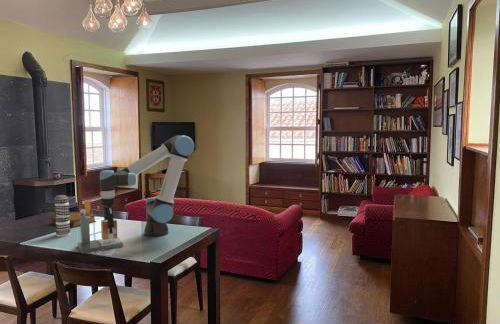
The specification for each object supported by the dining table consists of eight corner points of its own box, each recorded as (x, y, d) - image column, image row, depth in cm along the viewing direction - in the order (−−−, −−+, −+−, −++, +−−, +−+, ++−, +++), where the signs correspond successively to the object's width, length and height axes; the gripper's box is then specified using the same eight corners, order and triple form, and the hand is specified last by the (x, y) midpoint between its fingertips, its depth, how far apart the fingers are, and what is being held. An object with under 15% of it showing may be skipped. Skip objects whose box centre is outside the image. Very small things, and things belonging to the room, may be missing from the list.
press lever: (79, 213, 222) (79, 196, 221) (87, 212, 224) (86, 195, 223) (84, 219, 207) (83, 201, 206) (92, 218, 209) (92, 200, 208)
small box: (102, 240, 220) (102, 222, 219) (101, 237, 224) (100, 219, 223) (117, 238, 223) (117, 220, 222) (115, 235, 228) (115, 218, 227)
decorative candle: (53, 237, 243) (50, 197, 240) (58, 232, 252) (56, 194, 249) (68, 236, 244) (66, 196, 242) (73, 232, 253) (71, 194, 251)
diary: (51, 224, 275) (51, 216, 275) (74, 219, 292) (74, 211, 291) (73, 228, 264) (72, 220, 264) (96, 222, 280) (95, 214, 280)
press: (116, 240, 235) (115, 209, 233) (123, 246, 222) (121, 213, 221) (77, 246, 224) (75, 213, 222) (81, 253, 211) (79, 218, 209)
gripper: (97, 195, 228) (99, 234, 230) (104, 201, 212) (106, 242, 214) (111, 194, 232) (112, 232, 234) (118, 199, 216) (120, 240, 218)
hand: (109, 237), depth 224 cm, fingers closed on small box, 6 cm apart
